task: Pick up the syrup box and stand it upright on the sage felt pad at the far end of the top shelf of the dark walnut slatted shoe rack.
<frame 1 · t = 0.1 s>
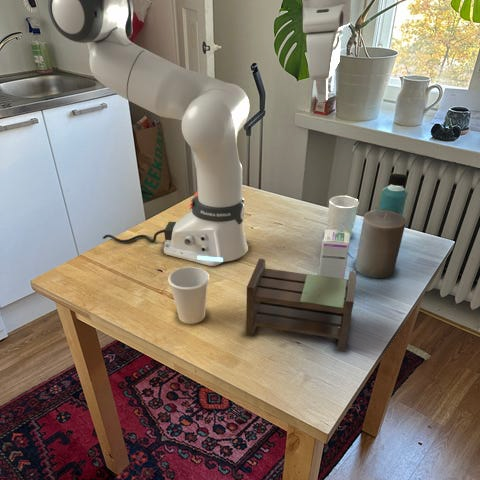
hand: (325, 96, 93), 39 cm above the table, tool pointing down, fingers open, 8 cm apart
dixie cup: (191, 316, 98), on the table
white cup: (338, 235, 128), on the table
pillar candle: (373, 269, 114), on the table
beverage bottle: (382, 247, 122), on the table
syrup box: (328, 291, 106), on the table
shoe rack: (298, 326, 95), on the table
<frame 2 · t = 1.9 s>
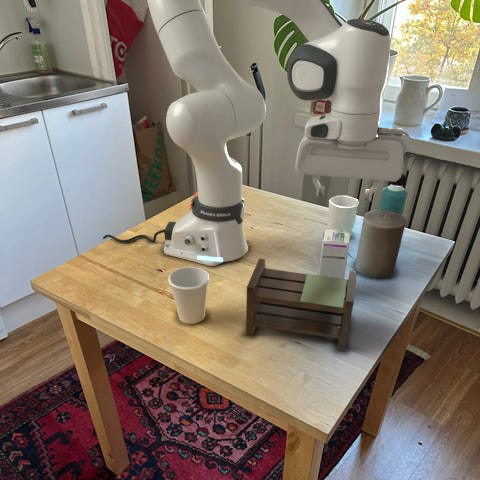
hand: (343, 197, 91), 23 cm above the table, tool pointing down, fingers open, 8 cm apart
nothing on the table moved.
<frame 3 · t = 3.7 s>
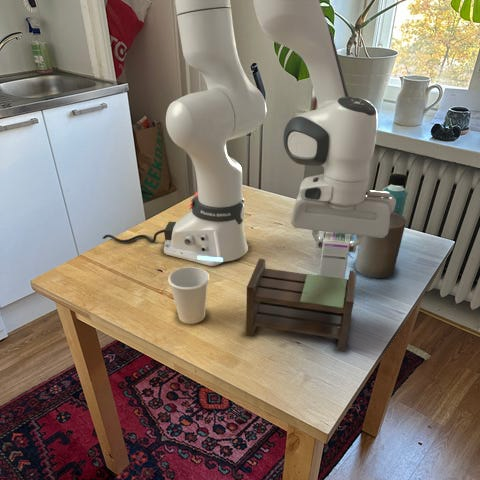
hand: (335, 249, 99), 11 cm above the table, tool pointing down, fingers closed on syrup box, 6 cm apart
syrup box: (328, 291, 106), on the table, touching gripper
everything else where it was.
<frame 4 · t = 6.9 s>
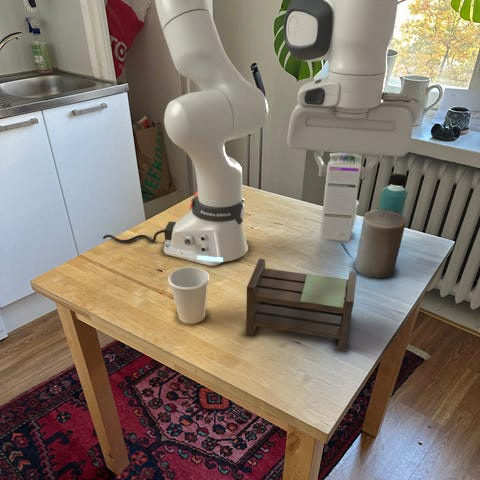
hand: (342, 177, 80), 30 cm above the table, tool pointing down, fingers closed on syrup box, 6 cm apart
syrup box: (334, 235, 87), point 19 cm above the table, touching gripper
everything else where it was.
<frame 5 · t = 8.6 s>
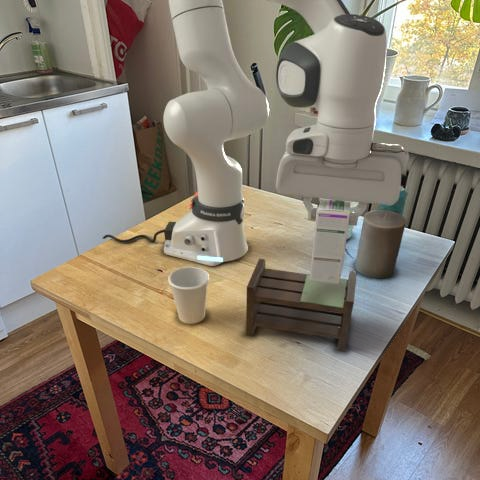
hand: (331, 221, 79), 25 cm above the table, tool pointing down, fingers closed on syrup box, 5 cm apart
syrup box: (324, 276, 86), point 13 cm above the table, touching gripper
everything else where it was.
when the fingers open (21 cm above the table, at t = 10.0 s): syrup box stays where it is, resting on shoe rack.
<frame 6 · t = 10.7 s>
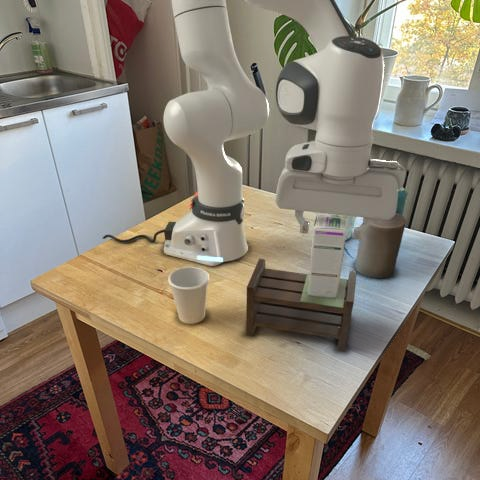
hand: (330, 235, 81), 22 cm above the table, tool pointing down, fingers open, 8 cm apart
syrup box: (322, 290, 88), point 10 cm above the table, touching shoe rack
everything else where it was.
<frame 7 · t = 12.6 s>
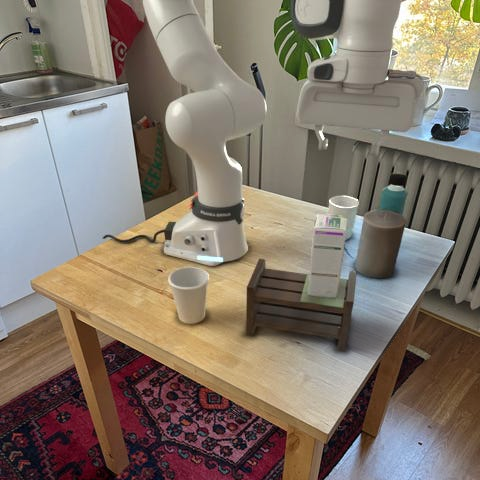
hand: (348, 151, 84), 33 cm above the table, tool pointing down, fingers open, 8 cm apart
nothing on the table moved.
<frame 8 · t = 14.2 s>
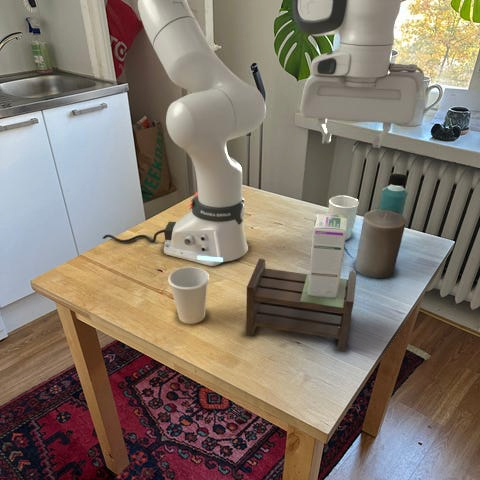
hand: (351, 144, 86), 33 cm above the table, tool pointing down, fingers open, 8 cm apart
nothing on the table moved.
at the end: syrup box inside the target area on the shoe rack (0.6 cm from its centre), point 10.0 cm above the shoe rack's base; syrup box tilted 0°; the gripper is holding nothing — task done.
